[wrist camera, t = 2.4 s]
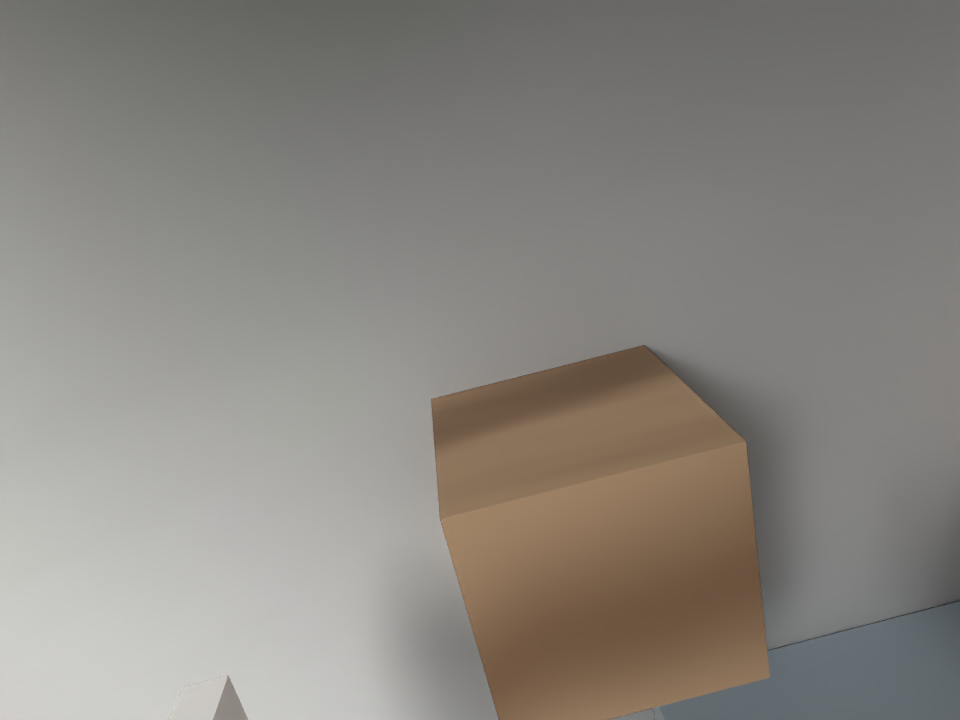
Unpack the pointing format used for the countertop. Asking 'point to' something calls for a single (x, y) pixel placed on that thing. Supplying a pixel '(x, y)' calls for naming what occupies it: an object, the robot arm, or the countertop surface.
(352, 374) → the countertop surface
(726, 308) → the countertop surface
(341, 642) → the countertop surface
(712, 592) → the cube
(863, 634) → the tote
